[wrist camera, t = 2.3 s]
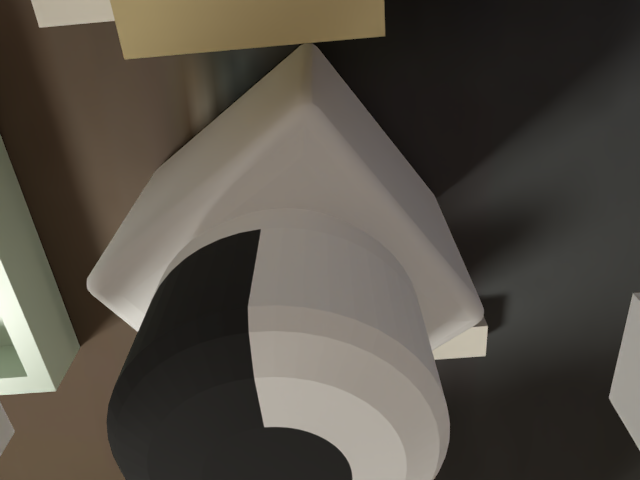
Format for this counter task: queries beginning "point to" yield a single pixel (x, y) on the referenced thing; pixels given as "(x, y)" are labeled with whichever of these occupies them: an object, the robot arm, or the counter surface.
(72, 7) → the fuse holder
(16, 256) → the tray
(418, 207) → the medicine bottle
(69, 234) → the counter surface
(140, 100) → the counter surface
